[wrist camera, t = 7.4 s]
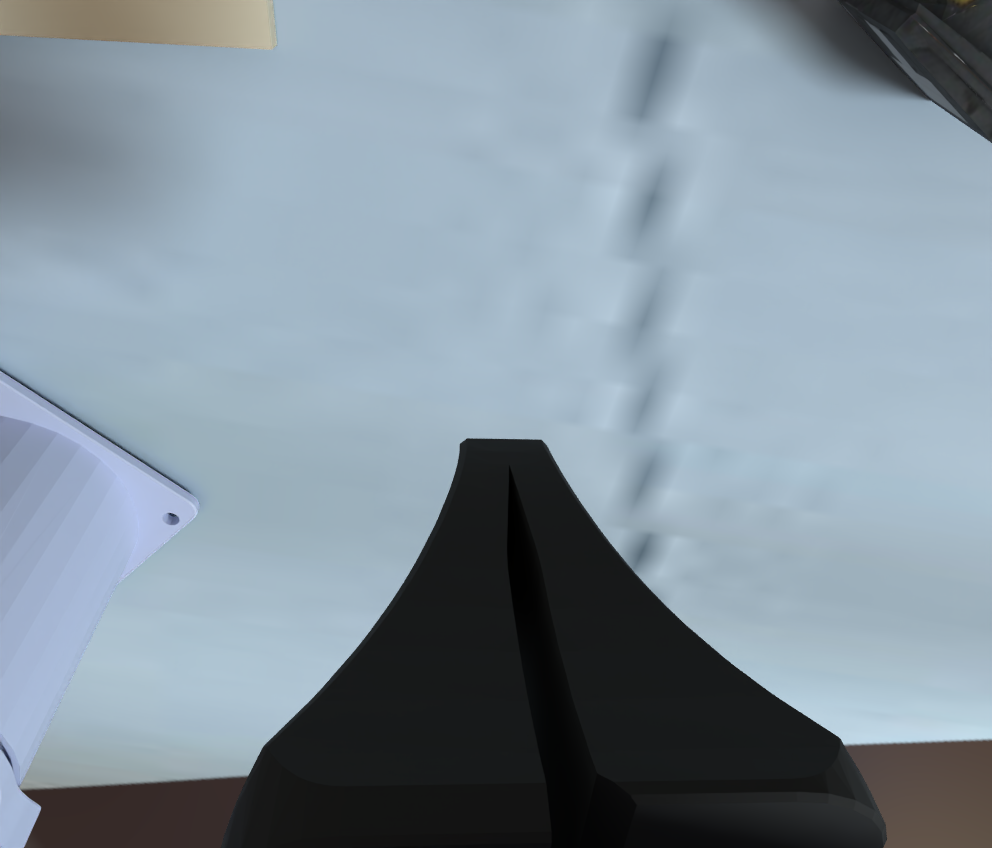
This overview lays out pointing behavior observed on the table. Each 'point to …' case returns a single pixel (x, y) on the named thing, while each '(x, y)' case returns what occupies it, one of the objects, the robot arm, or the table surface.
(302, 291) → the table surface
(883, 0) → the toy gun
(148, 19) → the board
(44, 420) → the robot arm
